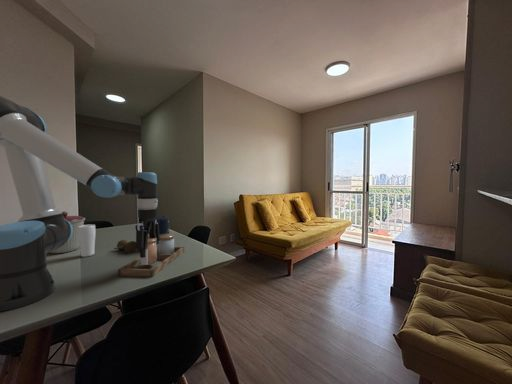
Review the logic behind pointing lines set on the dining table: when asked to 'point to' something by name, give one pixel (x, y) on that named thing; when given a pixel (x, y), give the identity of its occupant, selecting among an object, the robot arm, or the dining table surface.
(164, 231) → the canister
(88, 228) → the white tall cup
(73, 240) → the canister
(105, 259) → the dining table surface
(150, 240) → the tan domed cylinder
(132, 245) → the kendama
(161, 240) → the white lidded jar
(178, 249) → the caddy
